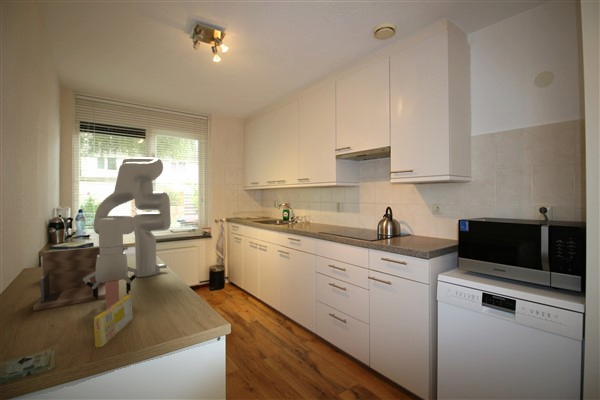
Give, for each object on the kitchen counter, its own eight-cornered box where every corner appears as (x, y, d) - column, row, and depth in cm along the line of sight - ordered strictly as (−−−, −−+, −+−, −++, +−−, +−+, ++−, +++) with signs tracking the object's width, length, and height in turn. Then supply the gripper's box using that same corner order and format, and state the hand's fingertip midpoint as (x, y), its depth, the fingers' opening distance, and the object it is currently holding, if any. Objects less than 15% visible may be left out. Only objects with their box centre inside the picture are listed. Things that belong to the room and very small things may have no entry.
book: (119, 298, 110) (118, 275, 110) (119, 306, 102) (118, 282, 101) (106, 300, 108) (106, 277, 108) (105, 309, 99) (105, 284, 99)
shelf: (107, 285, 125) (105, 246, 125) (105, 298, 110) (104, 253, 110) (44, 295, 113) (43, 251, 113) (33, 310, 98) (31, 260, 98)
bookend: (61, 292, 113) (61, 270, 113) (56, 300, 104) (56, 276, 104) (47, 294, 110) (46, 271, 110) (41, 303, 101) (40, 278, 101)
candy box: (126, 320, 91) (125, 295, 90) (133, 319, 91) (132, 294, 91) (93, 347, 74) (93, 317, 74) (102, 347, 75) (101, 316, 74)
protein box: (79, 276, 139) (78, 245, 139) (49, 276, 140) (48, 246, 139) (95, 270, 150) (94, 242, 150) (66, 271, 150) (66, 242, 150)
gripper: (137, 246, 112) (138, 288, 112) (83, 251, 103) (84, 297, 103) (138, 249, 106) (139, 293, 106) (81, 255, 96) (82, 304, 97)
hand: (112, 295), depth 105 cm, fingers open, 9 cm apart
